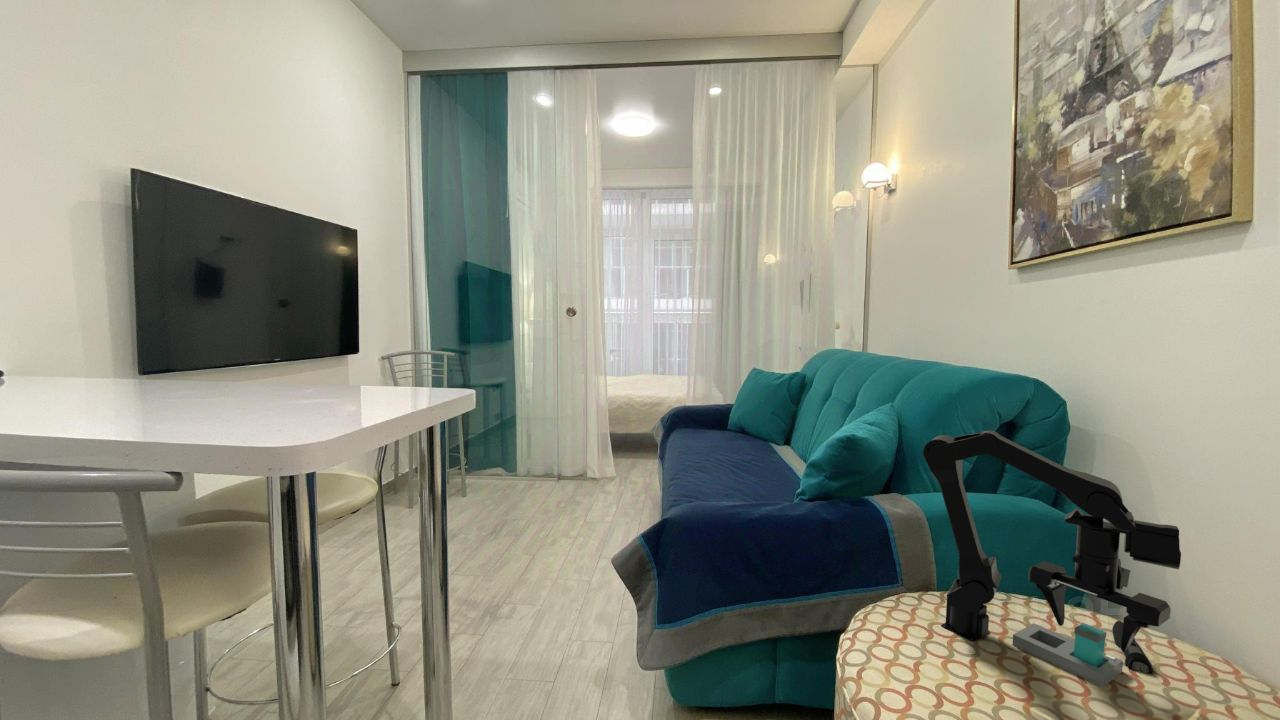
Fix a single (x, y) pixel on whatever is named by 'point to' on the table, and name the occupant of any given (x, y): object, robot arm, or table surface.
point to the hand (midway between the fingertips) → (1091, 637)
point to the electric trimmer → (1132, 652)
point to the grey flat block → (1065, 654)
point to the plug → (1089, 644)
